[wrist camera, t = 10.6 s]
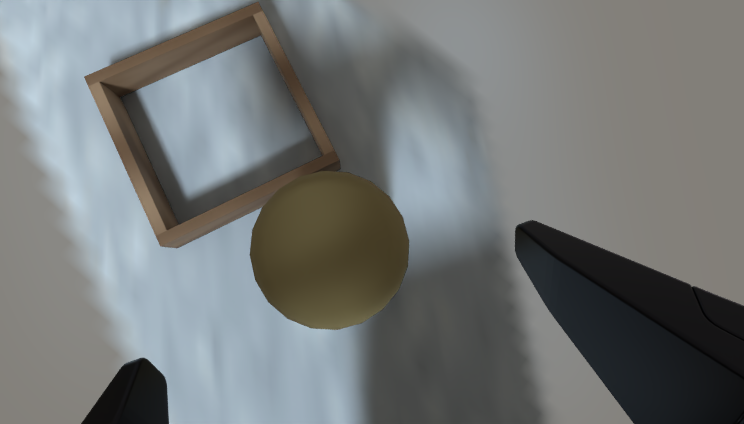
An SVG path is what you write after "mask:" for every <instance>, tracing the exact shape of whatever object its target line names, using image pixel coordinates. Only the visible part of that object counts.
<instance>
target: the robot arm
mask: <svg viewBox="0 0 744 424" xmlns="http://www.w3.org/2000/svg"><path fill="white" fill-rule="evenodd" d="M515 252H516V255H517V258H518V259H519V261H520V263H521V265H522V266H523V268H524V270H525V271H526V273H527V275H528V276H529V278H530V280H531V281H532V283H533V285H534V287H535V288H536V290H537V292H538V293H539V295H540V297H541V298H542V300H543V302H544V303H545V305H546V306H547V308H548V310H549V311H550V312H551V314H552V315H553V317H554V318H555V319H556V321H557V322H558V323H559V325H560V326H561V327H562V329H563V330H564V331H565V333H566V334H567V335H568V337H569V338H570V339H571V341H572V342H573V343H574V345H575V346H576V347H577V348H578V350H579V351H580V353H581V354H582V355H583V357H584V358H585V359H586V360H587V362H588V363H589V364H590V366H591V367H592V368H593V370H594V371H595V372H596V374H597V375H598V376H599V378H600V379H601V380H602V382H603V383H604V384H605V386H606V387H607V388H608V390H609V391H610V392H611V394H612V395H613V396H614V398H615V399H616V400H617V402H618V403H619V404H620V406H621V407H622V408H623V410H624V411H625V412H626V414H627V415H628V416H629V417H630V419H631V420H632V421H633V423H634V424H744V306H743V305H741V304H738V303H736V302H733V301H730V300H728V299H725V298H723V297H720V296H718V295H715V294H712V293H710V292H708V291H705V290H703V289H700V288H698V287H695V286H693V287H691V285H690V284H688V283H685V282H683V281H680V280H678V279H676V278H673V277H671V276H668V275H666V274H663V273H661V272H659V271H656V270H654V269H651V268H649V267H646V266H644V265H642V264H639V263H637V262H634V261H631V260H629V259H627V258H625V257H622V256H620V255H617V254H615V253H612V252H610V251H607V250H605V249H603V248H600V247H598V246H595V245H593V244H590V243H588V242H586V241H583V240H580V239H578V238H576V237H573V236H571V235H568V234H566V233H564V232H561V231H559V230H556V229H554V228H552V227H549V226H547V225H544V224H542V223H539V222H537V221H533V220H532V221H527V222H524V223H522V224H519V225H517V227H516V230H515ZM81 424H169V416H168V396H167V383H166V379H165V377H164V376H163V374H162V373H161V372H160V371H159V370H158V369H157V368H156V367H155V366H154V365H153V364H152V363H151V362H150V361H149V360H147V359H146V358H139V359H136V360H133V361H131V362H128V363H126V364H124V365H123V366H122V367H121V369H120V370H119V371H118V373H117V374H116V376H115V377H114V378H113V380H112V381H111V383H110V384H109V385H108V387H107V388H106V390H105V391H104V392H103V394H102V395H101V397H100V398H99V399H98V401H97V402H96V404H95V405H94V406H93V408H92V409H91V411H90V412H89V413H88V415H87V416H86V418H85V419H84V421H83V422H82V423H81Z"/></svg>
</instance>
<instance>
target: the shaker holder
mask: <svg viewBox="0 0 744 424" xmlns="http://www.w3.org/2000/svg"><path fill="white" fill-rule="evenodd" d="M260 35H261V36H262V38H263V40H264V42H265V44H266V46H267V48H268V50H269V52H270V54H271V56H272V58H273V60H274V62H275V64H276V65H277V67H278V69H279V71H280V73H281V75H282V77H283V79H284V81H285V83H286V85H287V87H288V89H289V91H290V93H291V95H292V97H293V99H294V101H295V103H296V105H297V107H298V109H299V111H300V113H301V115H302V117H303V118H304V120H305V122H306V124H307V126H308V128H309V130H310V132H311V134H312V136H313V138H314V140H315V142H316V144H317V146H318V148H319V150H320V152H321V154H322V156H321V157H319V158H317V159H315V160H313V161H311V162H309V163H306V164H304V165H302V166H300V167H298V168H296V169H294V170H292V171H290V172H288V173H286V174H284V175H282V176H279V177H277V178H275V179H273V180H271V181H269V182H267V183H265V184H263V185H261V186H259V187H257V188H254V189H252V190H250V191H248V192H246V193H244V194H242V195H240V196H238V197H236V198H234V199H232V200H229V201H227V202H225V203H223V204H221V205H219V206H217V207H215V208H213V209H211V210H209V211H207V212H204V213H202V214H200V215H198V216H196V217H194V218H192V219H190V220H188V221H186V222H184V223H182V224H178V222H177V220H176V218H175V215H174V213H173V211H172V209H171V207H170V204H169V202H168V200H167V198H166V196H165V194H164V191H163V189H162V187H161V185H160V183H159V181H158V178H157V176H156V174H155V172H154V170H153V167H152V165H151V163H150V161H149V159H148V157H147V154H146V152H145V150H144V148H143V146H142V143H141V141H140V139H139V137H138V135H137V133H136V130H135V128H134V126H133V124H132V122H131V119H130V117H129V115H128V113H127V111H126V109H125V106H124V104H123V102H122V100H121V98H120V97H122V96H124V95H126V94H128V93H131V92H133V91H135V90H138V89H140V88H142V87H144V86H147V85H149V84H151V83H153V82H156V81H158V80H160V79H163V78H165V77H167V76H169V75H172V74H174V73H176V72H178V71H181V70H183V69H185V68H188V67H190V66H192V65H194V64H197V63H199V62H201V61H203V60H206V59H208V58H210V57H213V56H215V55H217V54H219V53H222V52H224V51H226V50H228V49H231V48H233V47H235V46H238V45H240V44H242V43H244V42H247V41H249V40H251V39H253V38H256V37H258V36H260ZM84 78H85V80H86V82H87V84H88V87H89V89H90V91H91V93H92V95H93V98H94V100H95V102H96V104H97V107H98V109H99V111H100V113H101V115H102V118H103V120H104V122H105V124H106V127H107V129H108V131H109V133H110V135H111V138H112V140H113V142H114V144H115V146H116V149H117V151H118V153H119V155H120V158H121V160H122V162H123V164H124V166H125V169H126V171H127V173H128V175H129V178H130V180H131V182H132V184H133V186H134V189H135V191H136V193H137V195H138V198H139V200H140V202H141V204H142V206H143V209H144V211H145V213H146V215H147V217H148V220H149V222H150V224H151V226H152V229H153V231H154V233H155V235H156V237H157V240H158V242H159V244H160V246H162V247H171V248H179V247H181V246H183V245H185V244H187V243H189V242H191V241H193V240H195V239H197V238H199V237H201V236H203V235H206V234H208V233H210V232H212V231H214V230H216V229H218V228H220V227H222V226H224V225H226V224H228V223H230V222H232V221H234V220H236V219H238V218H241V217H243V216H245V215H247V214H249V213H251V212H253V211H255V210H257V209H259V208H261V207H263V206H264V205H265V204H266V203H267V202H268V201H269V199H270V198H271V197H272V196H273V195H274V194H275V193H276V192H277V190H278V189H279V188H281V187H283V186H285V185H286V184H288V183H290V182H291V181H293V180H295V179H296V178H298V177H300V176H304V175H308V174H312V173H316V172H320V171H334V172H335V171H337V170H339V169H341V168H340V161H339V158H338V156H337V154H336V152H335V150H334V148H333V146H332V144H331V143H330V141H329V139H328V137H327V135H326V133H325V131H324V129H323V127H322V125H321V123H320V121H319V119H318V117H317V115H316V113H315V111H314V109H313V107H312V106H311V104H310V102H309V100H308V98H307V96H306V94H305V92H304V90H303V88H302V86H301V84H300V82H299V80H298V78H297V76H296V74H295V72H294V70H293V69H292V67H291V65H290V63H289V61H288V59H287V57H286V55H285V53H284V51H283V49H282V47H281V45H280V43H279V41H278V39H277V37H276V35H275V33H274V32H273V30H272V28H271V26H270V24H269V22H268V20H267V18H266V16H265V14H264V12H263V10H262V8H261V6H260V4H259V2H256V3H254V4H252V5H250V6H247V7H245V8H243V9H240V10H238V11H236V12H233V13H231V14H229V15H226V16H224V17H222V18H219V19H217V20H215V21H212V22H210V23H208V24H205V25H203V26H201V27H198V28H196V29H194V30H191V31H189V32H187V33H185V34H182V35H180V36H178V37H175V38H173V39H171V40H168V41H166V42H164V43H161V44H159V45H157V46H154V47H152V48H150V49H147V50H145V51H143V52H140V53H138V54H136V55H133V56H131V57H129V58H126V59H124V60H122V61H120V62H117V63H115V64H113V65H110V66H108V67H106V68H103V69H101V70H99V71H96V72H94V73H92V74H89V75H87V76H85V77H84Z"/></svg>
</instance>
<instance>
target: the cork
mask: <svg viewBox="0 0 744 424" xmlns="http://www.w3.org/2000/svg"><path fill="white" fill-rule="evenodd" d="M408 254H409V239H408V235H407V231H406V227H405V224H404V220H403V217H402V215H401V214H400V212H399V211H398V209H397V208H396V206H395V204H394V203H393V201H392V200H391V198H390V197H389V196H388V195H387V194H386V193H384V192H383V191H382V190H381V189H379V188H378V187H377V186H376V185H375V184H373V183H372V182H371V181H368V180H366V179H363V178H361V177H358V176H356V175H353V174H351V173H347V172H334V171H320V172H316V173H312V174H308V175H304V176H300V177H298V178H296V179H295V180H293V181H291V182H290V183H288V184H286V185H285V186H283V187H281V188H279V189H278V190H277V192H276V193H275V194H274V195H273V196H272V197H271V198H270V199H269V201H268V202H267V203H266V204H265V205H264V206H263V207H262V210H261V212H260V214H259V216H258V219H257V221H256V223H255V225H254V228H253V230H252V239H251V248H250V258H251V262H252V267H253V272H254V276H255V280H256V282H257V284H258V286H259V287H260V289H261V291H262V292H263V294H264V296H265V297H266V299H267V301H268V302H269V303H270V304H271V305H272V306H273V307H275V308H276V309H277V310H278V311H279V312H280V313H282V314H283V315H284V316H285V317H286V318H287V319H290V320H292V321H295V322H297V323H300V324H302V325H304V326H307V327H309V328H315V329H332V330H338V329H342V328H345V327H349V326H353V325H357V324H360V323H363V322H364V321H366V320H367V319H369V318H370V317H372V316H373V315H375V314H376V313H378V312H379V311H381V310H383V309H384V307H385V306H386V305H387V304H388V302H389V301H390V300H391V299H392V297H393V296H394V295H395V294H396V292H397V291H398V290H399V288H400V285H401V283H402V280H403V277H404V275H405V272H406V270H407V267H408Z"/></svg>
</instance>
